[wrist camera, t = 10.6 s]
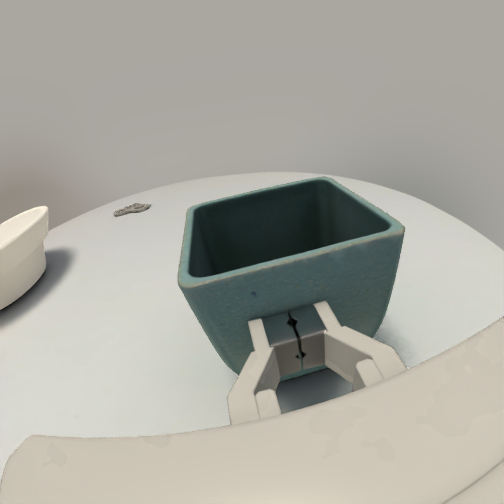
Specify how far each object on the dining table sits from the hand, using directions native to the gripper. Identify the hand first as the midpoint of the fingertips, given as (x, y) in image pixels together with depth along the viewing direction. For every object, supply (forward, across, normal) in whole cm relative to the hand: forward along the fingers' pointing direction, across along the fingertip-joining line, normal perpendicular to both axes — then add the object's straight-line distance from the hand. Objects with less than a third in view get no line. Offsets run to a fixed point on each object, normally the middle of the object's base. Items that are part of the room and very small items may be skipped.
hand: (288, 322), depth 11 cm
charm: (+42, +17, +6) cm, 46 cm away
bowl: (+23, +34, +6) cm, 42 cm away
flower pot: (+4, -1, +6) cm, 8 cm away
